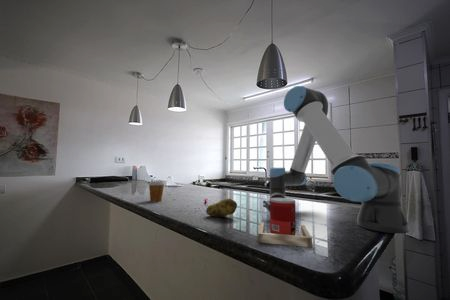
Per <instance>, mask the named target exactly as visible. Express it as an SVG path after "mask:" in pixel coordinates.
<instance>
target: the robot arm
mask: <svg viewBox="0 0 450 300" xmlns="http://www.w3.org/2000/svg"><path fill="white" fill-rule="evenodd" d="M283 107H284V109H285V111H287V112H289V113H293V115H294V117H295V118H296V120H297V121H298V122H301V123H304V126H303V129H302V131H301V135H300V136H299V137H300V138H299V141H298V144H297V146H296V147H297V148H296V150H295V153H294V156H293V159H292V161H291V166H290V168H289V170H286V168H285V167H271V168H269V169H270V170H269V200H265V199H264V200H262V207H263V208H265V209H267V211H268V212H270V199H271V198H286V186H287V187H288V186H296V187H297V186H302V185H305V184H306V182H307V180H308V178H307V174H306V170H307V167H308V164H309V162H310V159H311V156H312V153H313V151H314V147H315V145H316V143H317V145H318V147H319V148H320V149H321V151H322V152H323V154H324V155H325V157H326V159H327V160H328V162H329V163H330V164H331V166H332V167H331V171H330V172H331V174H332V175H333V176H332V178H333V180H332V183H333V187H334V190H335V191H336V192H337V194H339V196H341V197H342V198H344V199H345V200H348V201H351V202H358V203H359V202H360V203H361V206H360V209H359V211H358V215H357V216H356V217H357V218H356V224H357V226H358V227H362V228H364V229H367V230H371V231H375V232H383V233H387V234H407V233H409V232H410V230H409V228H410V227H409V223H408V221H407V219H406V216H405V214H404V212H403V210H402V202H401V201H402V200H401V183H400V182H401V181H400V180H401V179H400V177H401V174H400V171H399V170H400V169H399V167H398V166H396V165H394V164H391V163H383V162H368V160H367V159H366V158H365V157H364V155H363V154H362V155H361V154H356V153H355V151H354V150H353V149H352V148H351V146H350V145H349V144H348V142H347V141H346V140H345V138H344V137H343V136H342V134H341V133H340V132H339V131H338V130H337V128H336V127H335V125H334V124H333V123H332V121H331V120H330V119H329V118H328V114H329V113H328V112H329V102H328V98H327V97H326V95H325V94H324V93H323V92H321V91H318V90H315V89H311V88H308V87H305V86H304V85H293V86H292V87H290V88H289V89H288V90H287V92H286V94H285V96H284V100H283Z"/></svg>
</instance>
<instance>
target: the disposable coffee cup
mask: <svg viewBox="0 0 450 300" xmlns="http://www.w3.org/2000/svg"><path fill="white" fill-rule="evenodd" d="M148 182H149V183H148V187H149V199H150V200H149V201H150V202H151V201H160V202H162V198H163V193H164V189H165V188H164V186H165V181H164V180H150V181H148Z"/></svg>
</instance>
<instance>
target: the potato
mask: <svg viewBox="0 0 450 300" xmlns="http://www.w3.org/2000/svg"><path fill="white" fill-rule="evenodd" d="M237 208H238V204H237V202H236V201H235V200H234V199H231V198H224V199H221V200H220V201H218V202H216V203H213V204H211V205H209V206H207V207H206V210H205V211H206V215H208V216H210V217H215V218H217V217H218V218H222V217H223V218H225V217H226V216H230V215H233V214H234V213H235V212H236V211H237Z"/></svg>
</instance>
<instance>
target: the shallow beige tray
mask: <svg viewBox="0 0 450 300" xmlns="http://www.w3.org/2000/svg"><path fill="white" fill-rule="evenodd" d="M259 222H260V224H259V227H258V228H259V229H258V233H257V243H261V244H262V243H263V244H273V245H281V246H283V245H285V246H295V247H304V248H313V237H312V235H311V234H310V232H309V231H308V229H307V227H306V226H305V224H300V234H301V235H296V234H295V235H284V234H273V233H271V232H265V222H264V221H259Z"/></svg>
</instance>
